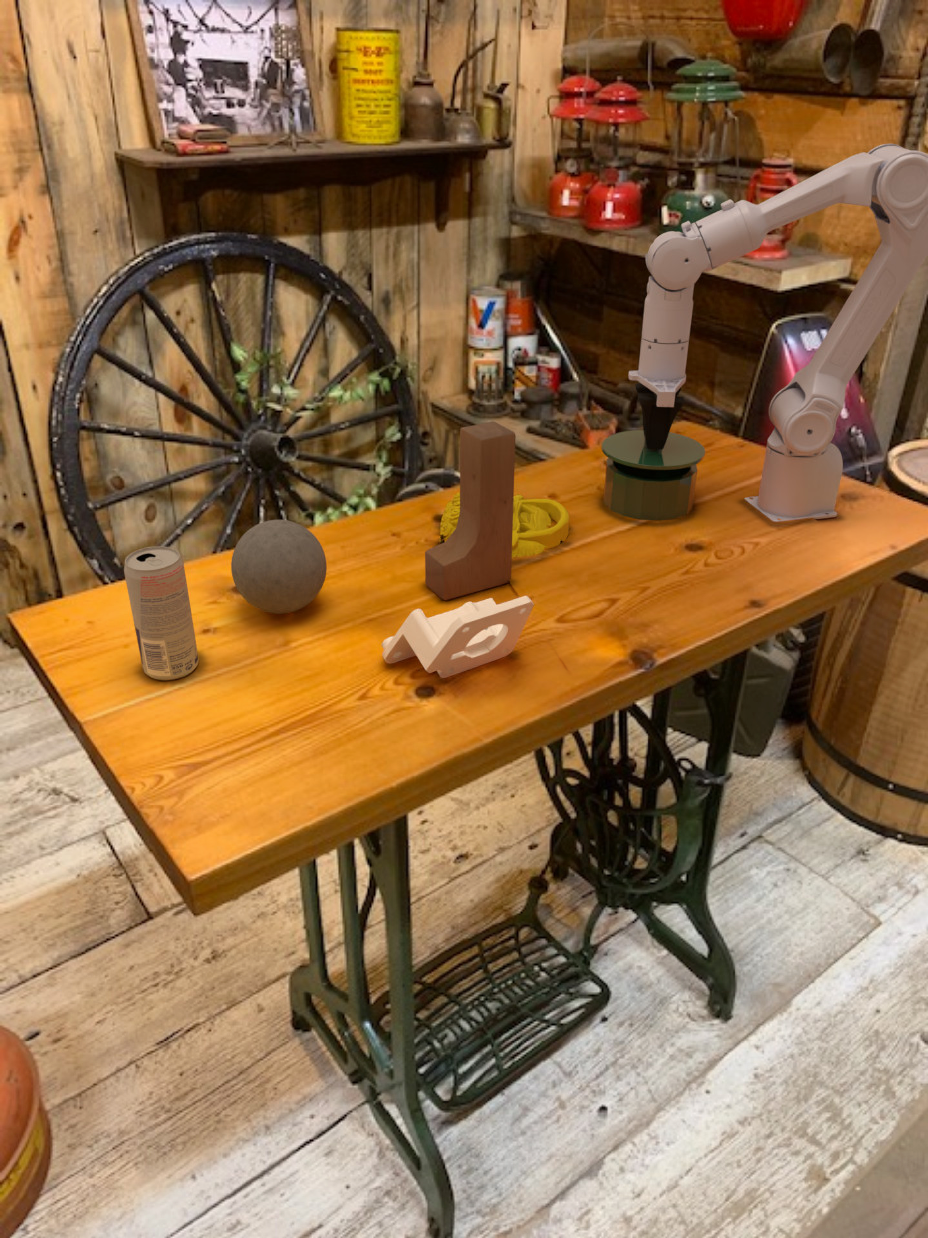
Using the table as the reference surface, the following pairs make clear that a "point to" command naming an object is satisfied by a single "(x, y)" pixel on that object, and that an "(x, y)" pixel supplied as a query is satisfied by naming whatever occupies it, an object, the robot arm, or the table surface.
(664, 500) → the pot
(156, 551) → the energy drink
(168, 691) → the table surface
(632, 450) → the lid
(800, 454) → the robot arm
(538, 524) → the door knocker
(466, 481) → the wooden block
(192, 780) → the table surface
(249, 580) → the decorative ball
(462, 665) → the mounting bracket
